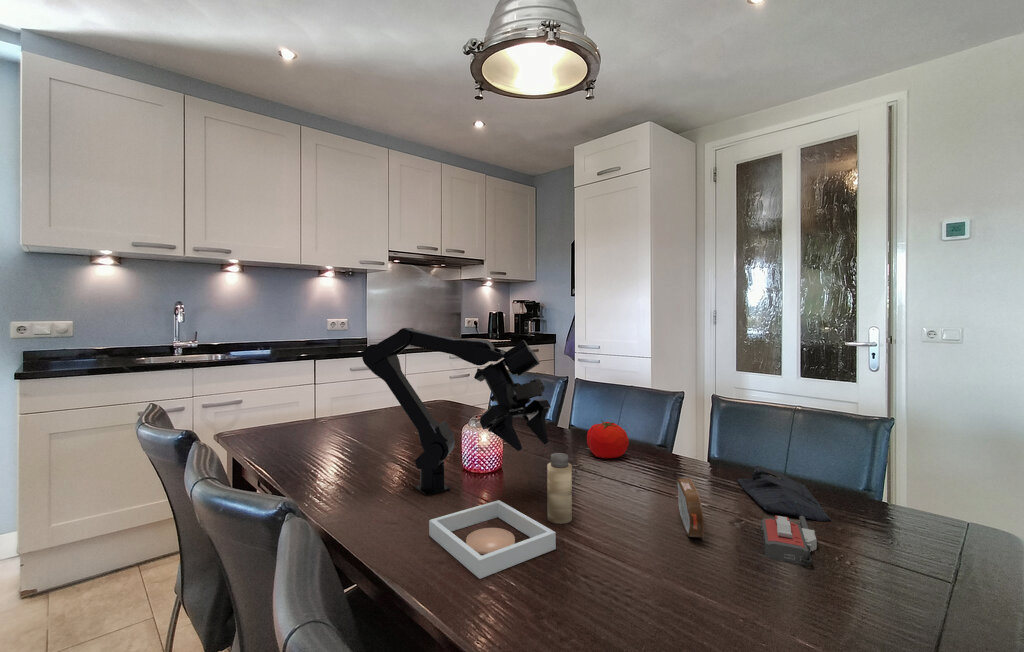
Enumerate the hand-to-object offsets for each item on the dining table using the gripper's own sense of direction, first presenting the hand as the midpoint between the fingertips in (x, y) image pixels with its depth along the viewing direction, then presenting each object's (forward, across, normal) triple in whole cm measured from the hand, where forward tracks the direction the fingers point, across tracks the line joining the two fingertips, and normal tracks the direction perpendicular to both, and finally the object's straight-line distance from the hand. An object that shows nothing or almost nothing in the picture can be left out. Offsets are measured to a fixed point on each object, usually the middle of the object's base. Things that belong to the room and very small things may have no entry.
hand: (534, 446), depth 101 cm
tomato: (+4, +43, +12) cm, 45 cm away
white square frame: (+13, -17, +6) cm, 22 cm away
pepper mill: (+15, 0, +3) cm, 15 cm away
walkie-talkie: (+38, +20, -27) cm, 51 cm away
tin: (+28, +13, -14) cm, 34 cm away
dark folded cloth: (+34, +41, -23) cm, 58 cm away
